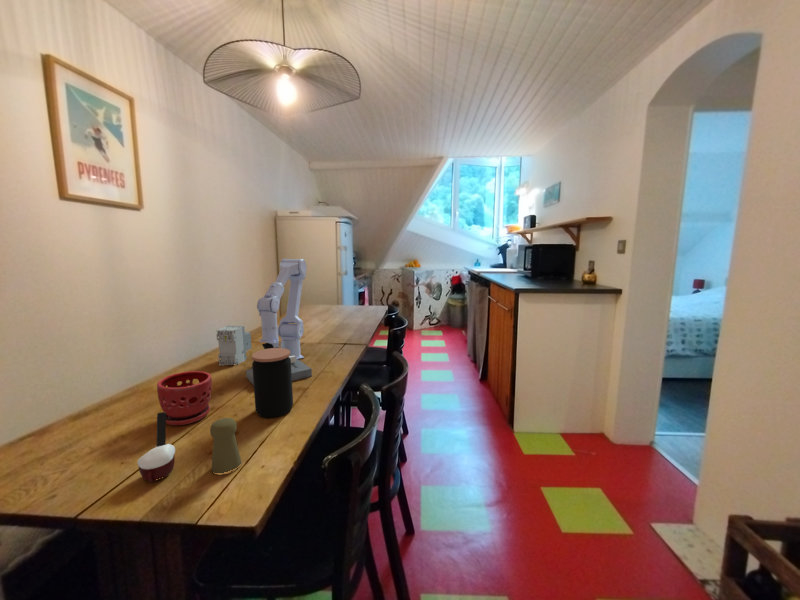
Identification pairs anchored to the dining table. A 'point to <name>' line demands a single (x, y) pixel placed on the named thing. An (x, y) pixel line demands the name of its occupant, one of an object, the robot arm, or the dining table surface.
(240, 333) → the circuit breaker
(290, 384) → the coffee jar
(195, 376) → the plant pot
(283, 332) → the robot arm
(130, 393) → the dining table surface
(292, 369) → the grey slider panel
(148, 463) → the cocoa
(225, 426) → the cork
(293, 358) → the paddle
